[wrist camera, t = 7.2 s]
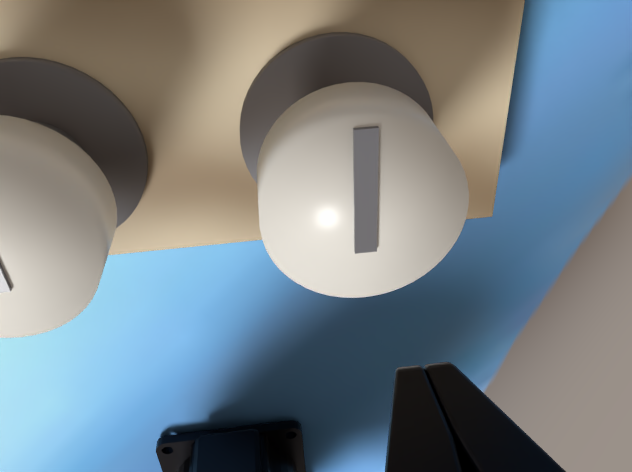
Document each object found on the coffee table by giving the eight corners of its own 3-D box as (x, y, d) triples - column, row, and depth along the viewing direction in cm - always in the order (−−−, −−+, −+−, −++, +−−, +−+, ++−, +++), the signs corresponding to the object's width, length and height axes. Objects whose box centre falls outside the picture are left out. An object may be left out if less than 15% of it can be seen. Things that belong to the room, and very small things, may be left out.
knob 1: (146, 230, 17) (122, 328, 13) (-18, 246, 16) (-84, 351, 13) (106, 74, 14) (64, 147, 11) (-90, 90, 14) (-196, 170, 10)
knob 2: (416, 202, 17) (459, 289, 14) (263, 217, 17) (269, 310, 14) (426, 47, 15) (482, 109, 11) (245, 62, 14) (247, 130, 11)
